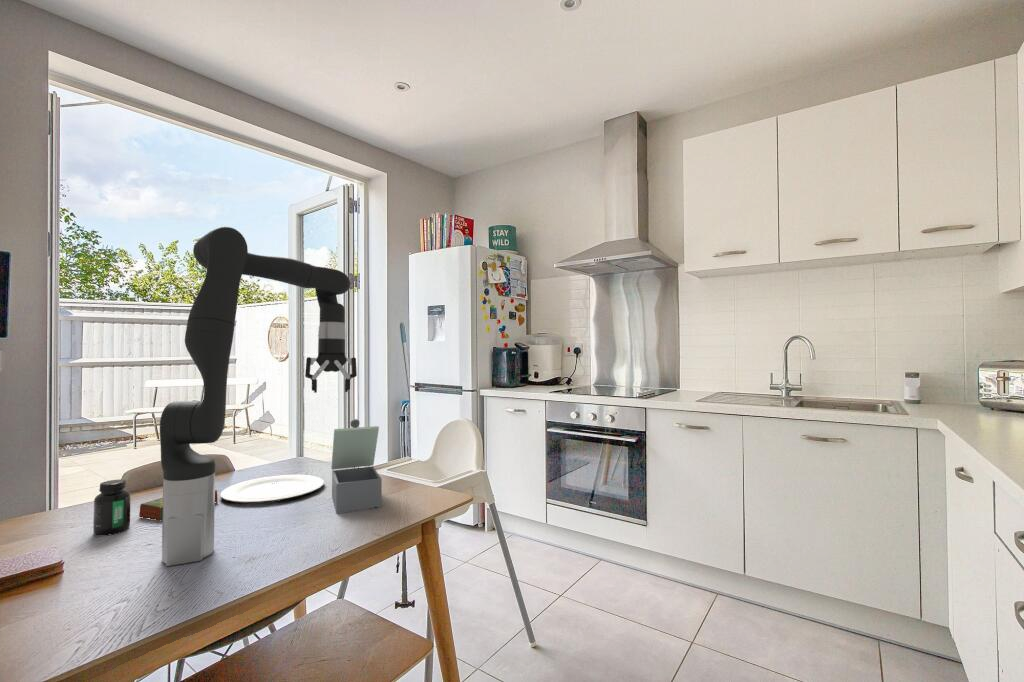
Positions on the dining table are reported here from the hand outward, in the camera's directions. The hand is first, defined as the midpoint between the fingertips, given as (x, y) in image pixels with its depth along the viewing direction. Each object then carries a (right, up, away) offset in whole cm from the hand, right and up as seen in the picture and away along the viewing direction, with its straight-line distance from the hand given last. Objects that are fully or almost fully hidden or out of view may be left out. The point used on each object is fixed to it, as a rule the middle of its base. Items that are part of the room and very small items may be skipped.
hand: (331, 392), depth 137 cm
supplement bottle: (-45, -32, -24) cm, 60 cm away
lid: (+7, -17, +1) cm, 19 cm away
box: (+8, -32, -2) cm, 33 cm away
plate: (-21, -33, +8) cm, 40 cm away
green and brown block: (-39, -33, -9) cm, 51 cm away
